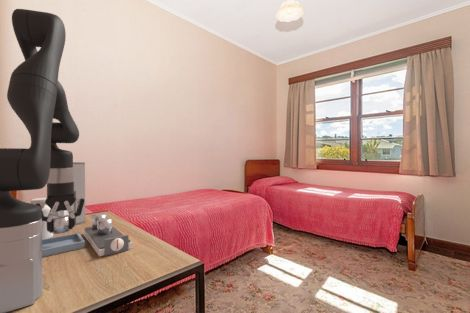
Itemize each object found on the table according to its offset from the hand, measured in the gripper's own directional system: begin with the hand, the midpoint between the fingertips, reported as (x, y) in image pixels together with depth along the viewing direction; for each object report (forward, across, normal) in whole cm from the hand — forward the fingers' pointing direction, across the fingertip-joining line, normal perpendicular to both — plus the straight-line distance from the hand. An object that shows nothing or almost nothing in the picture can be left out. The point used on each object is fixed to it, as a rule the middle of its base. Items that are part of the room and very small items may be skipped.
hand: (61, 230), depth 82 cm
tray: (+6, 0, 0) cm, 6 cm away
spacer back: (+3, +13, +7) cm, 15 cm away
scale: (+6, +13, -3) cm, 15 cm away
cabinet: (+6, +7, +30) cm, 31 cm away
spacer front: (0, 0, 0) cm, 0 cm away
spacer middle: (+3, +13, -2) cm, 14 cm away
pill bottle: (+6, -5, +16) cm, 18 cm away
